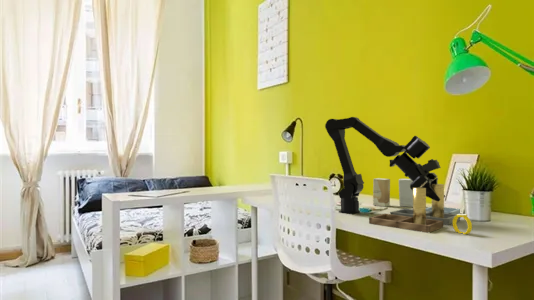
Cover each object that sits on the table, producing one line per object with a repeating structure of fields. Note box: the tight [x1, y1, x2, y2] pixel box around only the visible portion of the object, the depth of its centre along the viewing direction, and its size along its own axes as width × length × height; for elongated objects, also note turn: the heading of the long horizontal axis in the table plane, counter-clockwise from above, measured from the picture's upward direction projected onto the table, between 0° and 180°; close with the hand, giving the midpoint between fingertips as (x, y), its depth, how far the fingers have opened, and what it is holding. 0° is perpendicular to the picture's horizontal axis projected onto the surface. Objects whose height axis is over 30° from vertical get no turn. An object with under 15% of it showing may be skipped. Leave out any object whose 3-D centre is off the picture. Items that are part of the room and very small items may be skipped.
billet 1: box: [412, 187, 427, 225], centre depth 124 cm, size 4×4×13 cm
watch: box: [452, 213, 473, 235], centre depth 115 cm, size 6×3×6 cm, turn 20°
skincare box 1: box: [372, 177, 391, 208], centre depth 170 cm, size 6×4×12 cm
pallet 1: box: [368, 213, 444, 233], centre depth 128 cm, size 21×11×2 cm, turn 44°
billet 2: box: [431, 183, 445, 218], centre depth 135 cm, size 4×4×13 cm
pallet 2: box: [389, 208, 461, 226], centre depth 138 cm, size 21×11×2 cm, turn 44°
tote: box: [426, 206, 461, 215], centre depth 147 cm, size 11×11×2 cm
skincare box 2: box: [398, 178, 413, 208], centre depth 168 cm, size 6×4×12 cm
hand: (441, 198), depth 134 cm, fingers open, 9 cm apart
